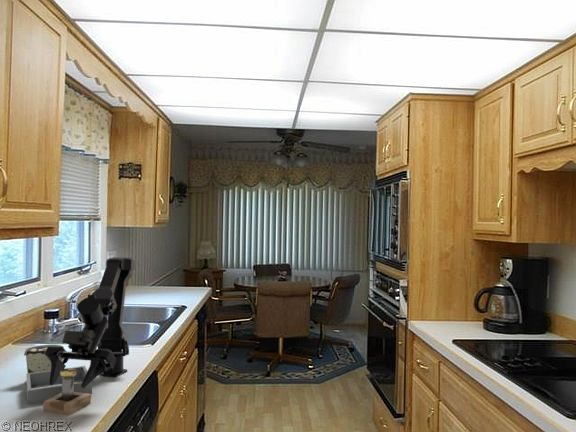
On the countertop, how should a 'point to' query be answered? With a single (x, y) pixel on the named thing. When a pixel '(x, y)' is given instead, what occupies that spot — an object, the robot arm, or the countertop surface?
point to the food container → (37, 359)
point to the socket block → (67, 403)
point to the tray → (52, 391)
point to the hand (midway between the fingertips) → (66, 386)
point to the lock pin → (68, 383)
